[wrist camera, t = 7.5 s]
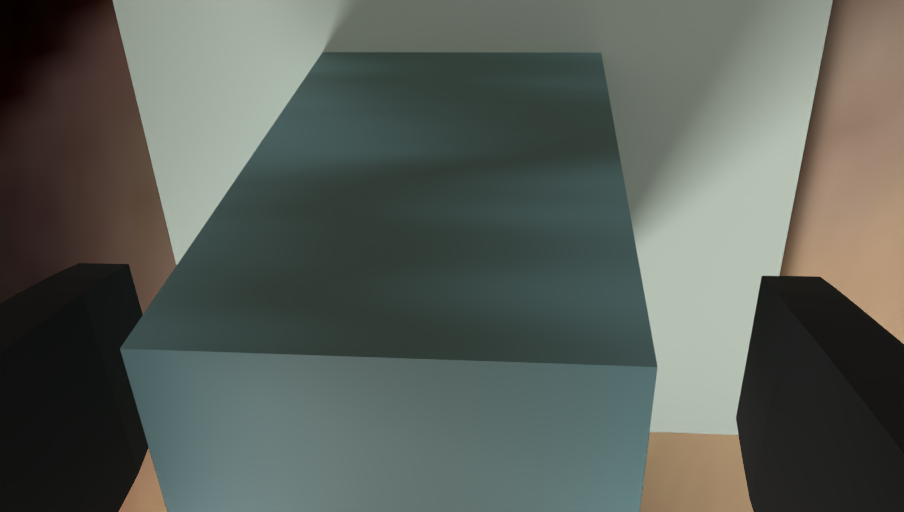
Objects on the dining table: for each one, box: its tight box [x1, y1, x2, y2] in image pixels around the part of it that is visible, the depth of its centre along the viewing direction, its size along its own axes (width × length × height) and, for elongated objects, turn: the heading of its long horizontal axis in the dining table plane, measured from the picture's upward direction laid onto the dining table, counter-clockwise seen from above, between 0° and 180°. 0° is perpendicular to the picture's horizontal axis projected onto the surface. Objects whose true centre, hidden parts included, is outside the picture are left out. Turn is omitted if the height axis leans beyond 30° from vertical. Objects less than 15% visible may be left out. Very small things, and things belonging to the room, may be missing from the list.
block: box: [120, 52, 657, 512], centre depth 10 cm, size 4×4×7 cm
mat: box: [113, 0, 833, 435], centre depth 14 cm, size 10×10×1 cm
